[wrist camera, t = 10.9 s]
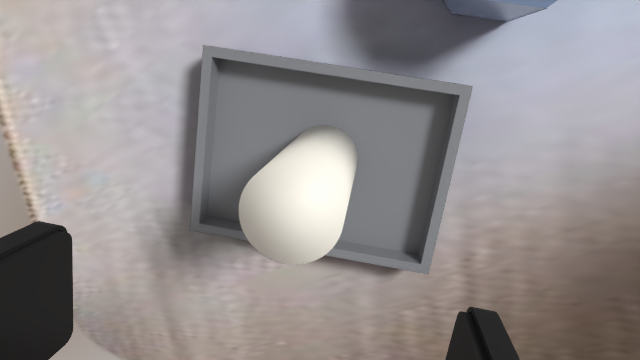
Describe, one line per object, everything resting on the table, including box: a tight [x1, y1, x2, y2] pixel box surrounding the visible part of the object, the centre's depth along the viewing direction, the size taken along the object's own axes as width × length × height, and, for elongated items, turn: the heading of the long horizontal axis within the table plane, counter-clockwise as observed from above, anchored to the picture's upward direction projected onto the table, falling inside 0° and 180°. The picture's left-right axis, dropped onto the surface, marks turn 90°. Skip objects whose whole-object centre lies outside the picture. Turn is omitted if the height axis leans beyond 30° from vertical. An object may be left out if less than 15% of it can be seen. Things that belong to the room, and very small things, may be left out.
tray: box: [190, 45, 473, 274], centre depth 28 cm, size 16×12×2 cm
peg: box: [239, 125, 358, 265], centre depth 23 cm, size 4×4×11 cm
